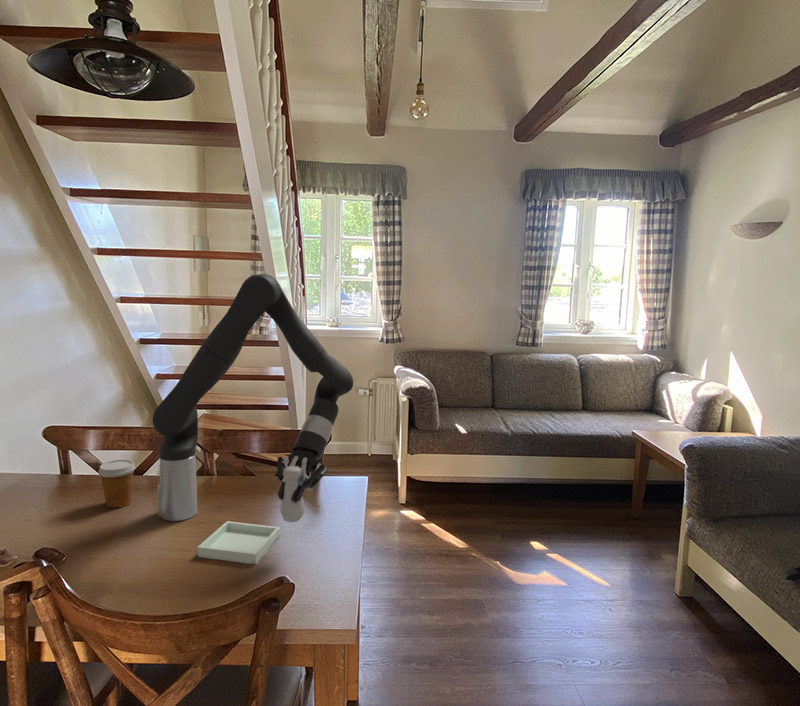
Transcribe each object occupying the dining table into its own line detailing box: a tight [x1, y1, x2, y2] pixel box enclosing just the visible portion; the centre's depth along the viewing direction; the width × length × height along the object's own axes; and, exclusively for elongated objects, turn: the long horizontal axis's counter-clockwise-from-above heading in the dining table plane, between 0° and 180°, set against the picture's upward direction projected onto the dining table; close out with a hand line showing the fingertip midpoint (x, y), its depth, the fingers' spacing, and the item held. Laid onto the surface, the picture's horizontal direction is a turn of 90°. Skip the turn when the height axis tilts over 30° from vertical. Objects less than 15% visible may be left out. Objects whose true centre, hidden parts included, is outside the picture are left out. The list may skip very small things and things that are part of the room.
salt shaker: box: [279, 465, 306, 523], centre depth 128 cm, size 6×6×13 cm
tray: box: [197, 520, 281, 565], centre depth 133 cm, size 15×14×2 cm
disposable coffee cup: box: [97, 459, 136, 509], centre depth 154 cm, size 10×10×12 cm
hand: (287, 500), depth 126 cm, fingers closed on salt shaker, 3 cm apart
